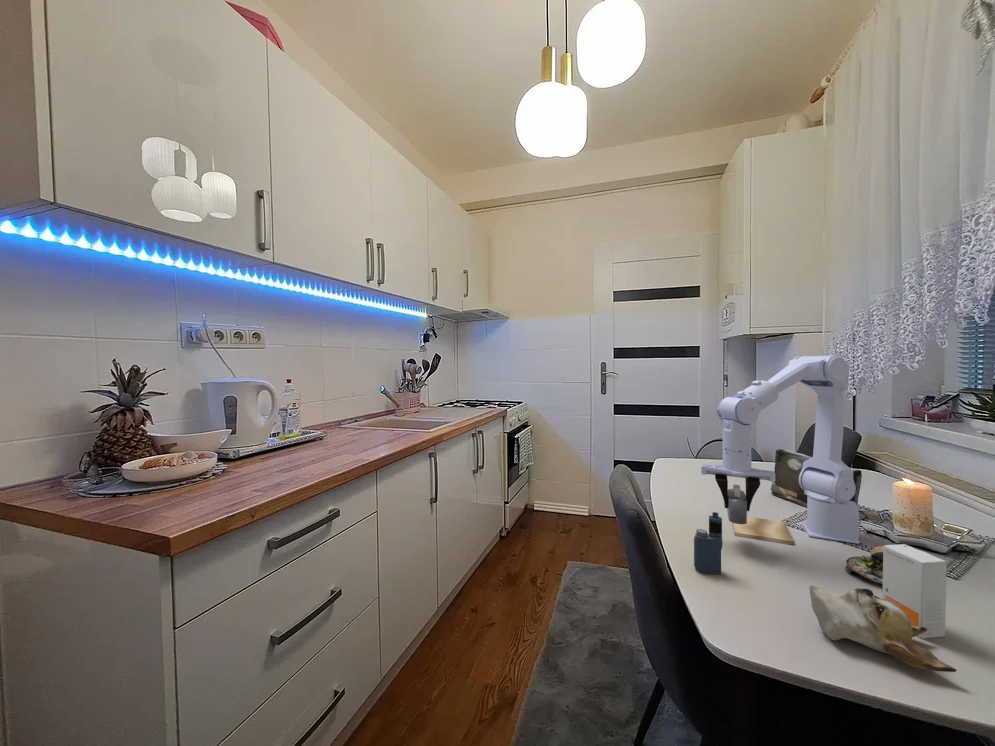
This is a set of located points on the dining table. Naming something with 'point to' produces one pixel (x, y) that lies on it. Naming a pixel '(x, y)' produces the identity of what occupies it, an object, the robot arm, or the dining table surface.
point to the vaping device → (709, 547)
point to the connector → (737, 505)
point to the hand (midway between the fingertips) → (736, 508)
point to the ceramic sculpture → (872, 625)
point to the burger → (868, 565)
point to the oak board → (764, 530)
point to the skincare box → (916, 586)
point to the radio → (788, 477)
